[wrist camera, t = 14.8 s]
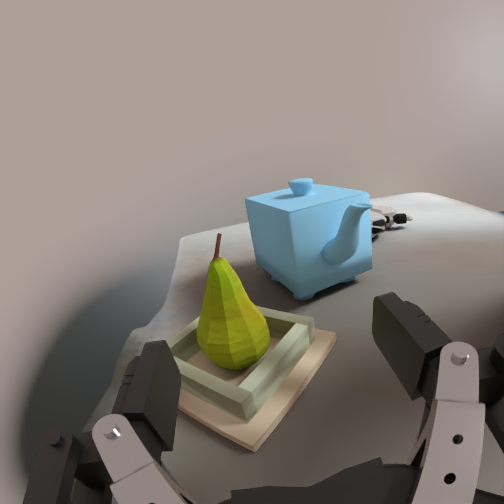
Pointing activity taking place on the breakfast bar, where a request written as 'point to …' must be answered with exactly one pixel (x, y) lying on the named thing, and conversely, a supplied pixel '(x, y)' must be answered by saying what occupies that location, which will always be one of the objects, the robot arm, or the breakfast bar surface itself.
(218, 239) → the fruit
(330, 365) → the breakfast bar surface
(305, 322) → the tray
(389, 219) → the robot toy
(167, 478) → the robot arm
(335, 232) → the teapot
